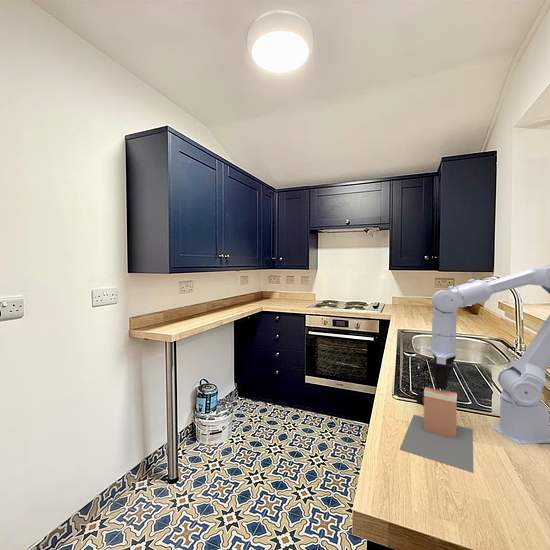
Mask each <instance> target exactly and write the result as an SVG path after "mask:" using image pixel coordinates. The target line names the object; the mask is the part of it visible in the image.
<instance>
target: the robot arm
mask: <svg viewBox="0 0 550 550" xmlns="http://www.w3.org/2000/svg"><path fill="white" fill-rule="evenodd" d="M528 285H530V286H531V285H532V286H538V287H541V288H542V289H543V290H544V291H546V292H547V293H548V294H549V295H550V264H546V265H544V266H537V267H531V268H527V269H523V270H520V271H516V272H514V273H511V274H508V275H504V276H502V277H499V278H496V279H493V280H490V281H487V282H486V281H484V280H483V279H482V280H481V279H474V278H471V279H469V280H467V282H466V283H462V284H459V285H455V286H453V285H450V286H448V289H441V290H438V291H435V293H434V294H433V295H432V298H431V300H430V301H431V305H432V306H433V310H432V314H433V315H432V319H431V321H432V323H431V347H426V352H428V353H429V352H430V353H431V354H432V356H433V358H434V359H429V365H430V367H431V369H432V373H433V375H434V383H435V387H436V389H438V390H442V391H446V389H447V387H448V382H449V378H450V375H451V372H452V371H453V369H454V368H455V364H454V361H455V359H456V358H457V351H456V350H457V310H458V309H459V308H465V307H469V306H472V305H476V304H479V303H483V302H487V301H489V299H490V298H491V297H492V295H494V294H496V293H500V292H501V293H502V292H505V291H508V290H512V289H516V288H521V287H525V286H528ZM549 367H550V314H549V315H548V316H547V318H546V319H545V321H544V323H543V324H542V325H541V326H540V328H539V330H538V331H537V332H536V334H535V336H534V337H533V339H532V340H531V341H530V343H529V344H528V346H527V347H526V349H525V350H524V352H523V353H522V355H521V357H520V358H518V359H516V360H514V361H512V362H511V364H510V365H509V366H508V367H507V368H505V369H502V370H501V371H500V372H499V373H498V375H497V381H498V384H499V386H500V387H501V388H502V390H501V393H500V394H499V395H500V399H499V400H500V402H499V404H500V405H499V424H498V425H491V426H490V427H491V429H493V430H495V431H496V432H498V433H500V435H503V436H505V437H506V438H507V439H509V440H511V441H513V442H514V443H515V444H518V445H526V444H527V445H528V444H550V412H549V410H548V408H547V406H546V404H545V403H543V402H542V401H541V400H542V399H543V389H544V387H545V386H546V384H547V379H546V372H547V370H548V369H549Z"/></svg>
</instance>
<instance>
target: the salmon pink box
mask: <svg viewBox="0 0 550 550" xmlns="http://www.w3.org/2000/svg"><path fill="white" fill-rule="evenodd" d="M423 392H424V405H423V417H424V430H426V431H430V432H433V433H437V434H441V435H445V436H448V437H452V438H456V425H457V402H458V401H457V399H458V394H457V392H452V391H446V390H443V389H438V388H431V387H426V386H425V388H424V390H423Z"/></svg>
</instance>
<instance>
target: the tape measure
mask: <svg viewBox="0 0 550 550" xmlns="http://www.w3.org/2000/svg"><path fill="white" fill-rule="evenodd" d="M414 400H415V401H416V403H417V404H421V405H423V406H424V391H423V392H420V393H417V394H416V395H415V396H414Z"/></svg>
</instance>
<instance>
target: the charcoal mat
mask: <svg viewBox="0 0 550 550" xmlns="http://www.w3.org/2000/svg"><path fill="white" fill-rule="evenodd" d="M473 430H474V429H472V428H469V427H465V426H461V425H457V424H456V438H452V437H448V436H445V435H441V434H437V433H433V432H430V431H426V430H424V416H420V415H416V414H413V415H412V417H411V420H410V422H409V425H408V427H407V430H406V433H405V435H404V438H403V440H402V442H401V444H400V448H399V451H403V452H406V453H408V454H411V455H416V456H418V457H422V458H425V459H428V460H430V461H434V462H438V463H441V464H443V465H446V466H450V467H453V468H456V469H460V470H463V471H466V472H469V473H472V474H473V473H474V431H473Z"/></svg>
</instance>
